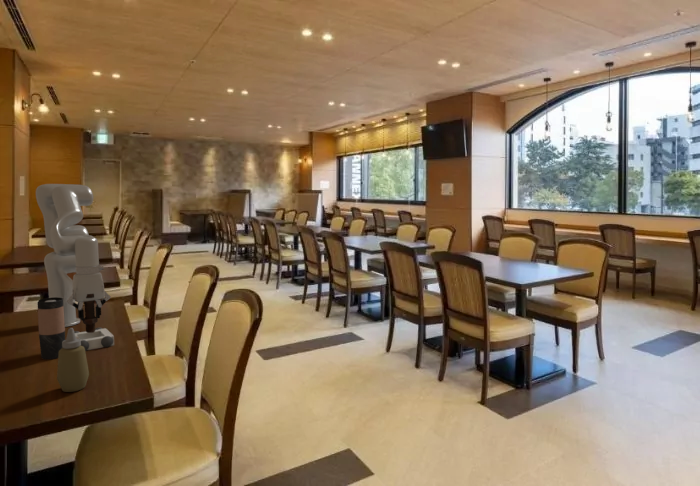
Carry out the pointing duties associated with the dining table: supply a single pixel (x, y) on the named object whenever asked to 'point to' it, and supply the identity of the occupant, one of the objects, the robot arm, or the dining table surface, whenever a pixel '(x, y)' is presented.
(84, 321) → the bolt
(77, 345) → the squeeze bottle
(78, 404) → the dining table surface
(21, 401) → the dining table surface
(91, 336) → the chassis
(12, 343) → the dining table surface
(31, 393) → the dining table surface
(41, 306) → the travel mug
